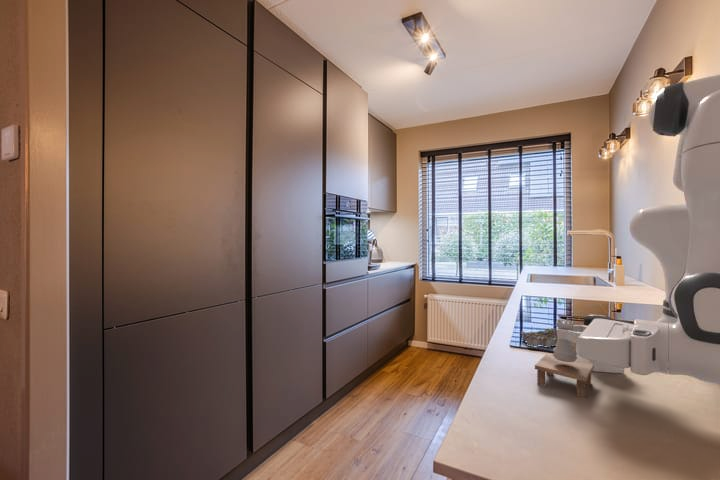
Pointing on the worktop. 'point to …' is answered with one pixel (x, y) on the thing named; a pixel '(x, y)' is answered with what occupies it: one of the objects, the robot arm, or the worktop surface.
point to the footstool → (565, 371)
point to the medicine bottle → (597, 366)
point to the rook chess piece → (564, 344)
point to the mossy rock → (541, 337)
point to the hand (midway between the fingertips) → (559, 330)
